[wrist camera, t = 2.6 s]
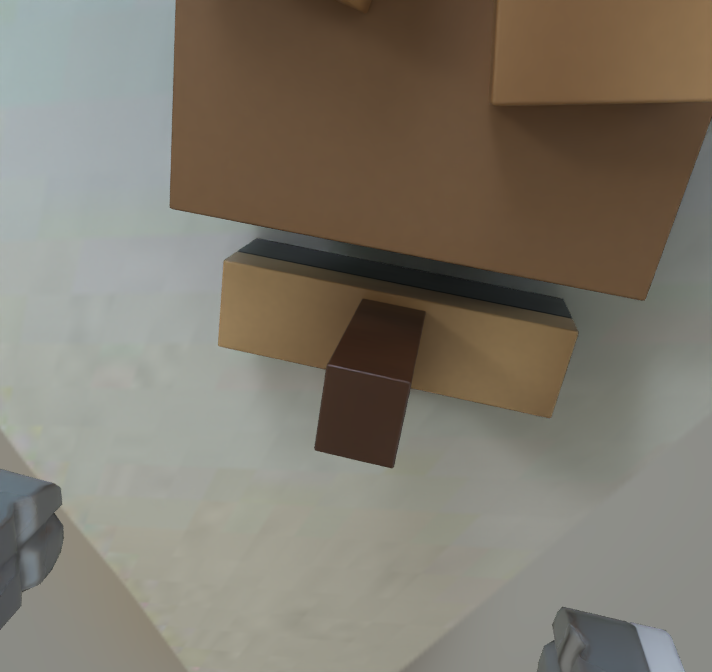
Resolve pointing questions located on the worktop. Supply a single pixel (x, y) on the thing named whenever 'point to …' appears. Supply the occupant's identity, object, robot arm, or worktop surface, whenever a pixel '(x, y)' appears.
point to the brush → (392, 339)
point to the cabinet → (417, 143)
